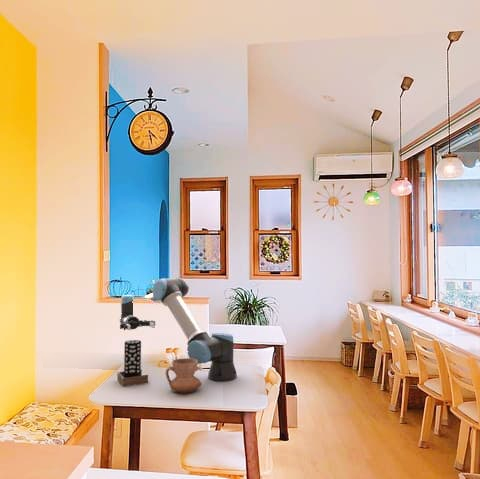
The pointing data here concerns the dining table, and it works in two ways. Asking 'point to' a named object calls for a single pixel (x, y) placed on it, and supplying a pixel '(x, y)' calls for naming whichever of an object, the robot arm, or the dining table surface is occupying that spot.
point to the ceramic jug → (184, 375)
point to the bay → (131, 379)
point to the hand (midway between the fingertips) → (142, 326)
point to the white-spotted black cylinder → (132, 358)
